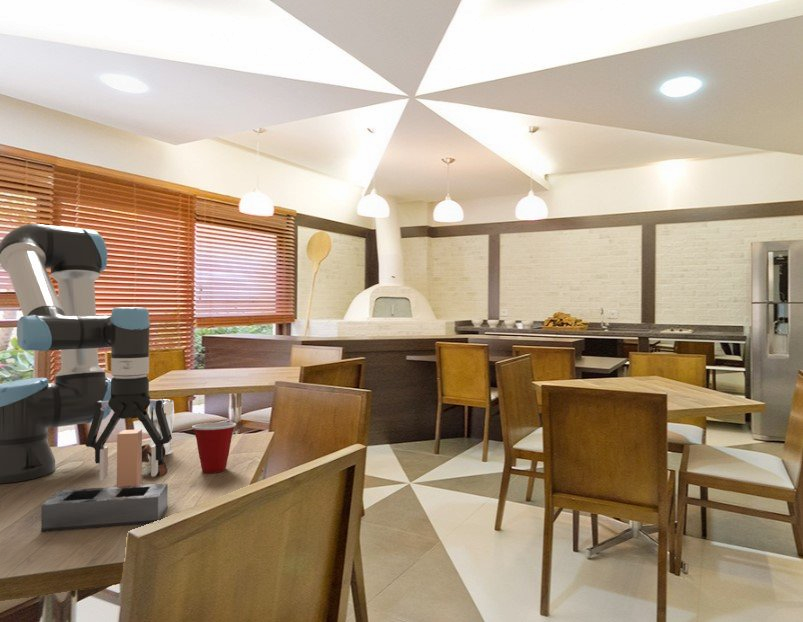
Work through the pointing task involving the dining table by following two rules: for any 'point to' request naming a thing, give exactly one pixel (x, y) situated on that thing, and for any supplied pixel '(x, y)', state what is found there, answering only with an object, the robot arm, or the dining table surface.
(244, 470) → the dining table surface
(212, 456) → the plastic cup
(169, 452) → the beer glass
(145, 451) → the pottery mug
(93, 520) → the grey peg hole block
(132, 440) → the terracotta peg
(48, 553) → the dining table surface
